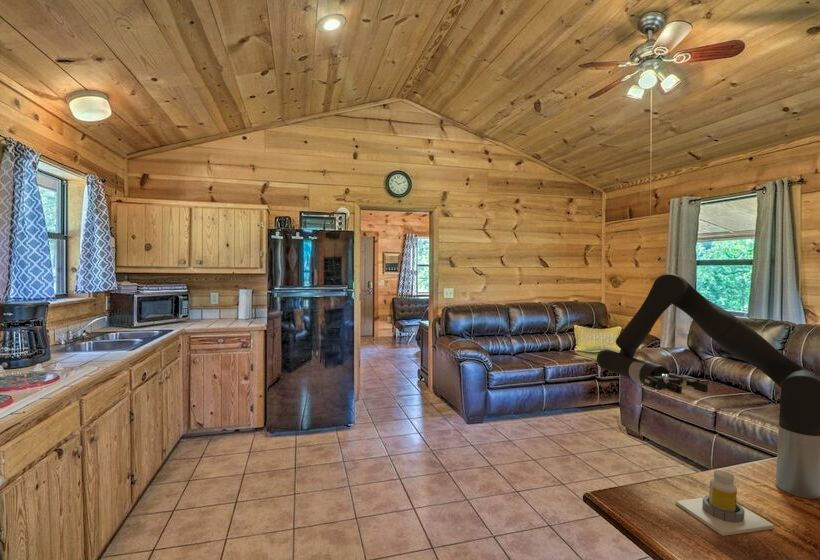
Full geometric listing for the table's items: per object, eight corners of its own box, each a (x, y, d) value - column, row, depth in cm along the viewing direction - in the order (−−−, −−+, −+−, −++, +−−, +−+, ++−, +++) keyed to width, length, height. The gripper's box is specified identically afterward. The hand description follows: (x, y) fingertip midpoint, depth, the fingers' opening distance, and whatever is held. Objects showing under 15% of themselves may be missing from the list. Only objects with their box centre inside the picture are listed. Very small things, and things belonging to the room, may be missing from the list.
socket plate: (722, 498, 112) (723, 487, 112) (774, 528, 99) (774, 516, 99) (675, 503, 109) (676, 493, 109) (722, 535, 96) (723, 524, 96)
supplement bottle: (740, 520, 101) (742, 480, 101) (715, 517, 102) (717, 477, 102) (728, 507, 106) (730, 469, 106) (704, 504, 107) (706, 467, 107)
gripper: (629, 362, 130) (672, 377, 114) (668, 361, 133) (715, 375, 117) (628, 386, 130) (671, 404, 114) (667, 384, 133) (714, 401, 117)
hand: (693, 389), depth 115 cm, fingers open, 8 cm apart
